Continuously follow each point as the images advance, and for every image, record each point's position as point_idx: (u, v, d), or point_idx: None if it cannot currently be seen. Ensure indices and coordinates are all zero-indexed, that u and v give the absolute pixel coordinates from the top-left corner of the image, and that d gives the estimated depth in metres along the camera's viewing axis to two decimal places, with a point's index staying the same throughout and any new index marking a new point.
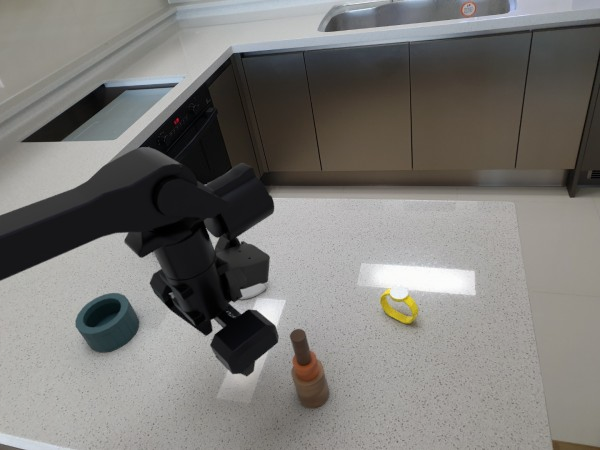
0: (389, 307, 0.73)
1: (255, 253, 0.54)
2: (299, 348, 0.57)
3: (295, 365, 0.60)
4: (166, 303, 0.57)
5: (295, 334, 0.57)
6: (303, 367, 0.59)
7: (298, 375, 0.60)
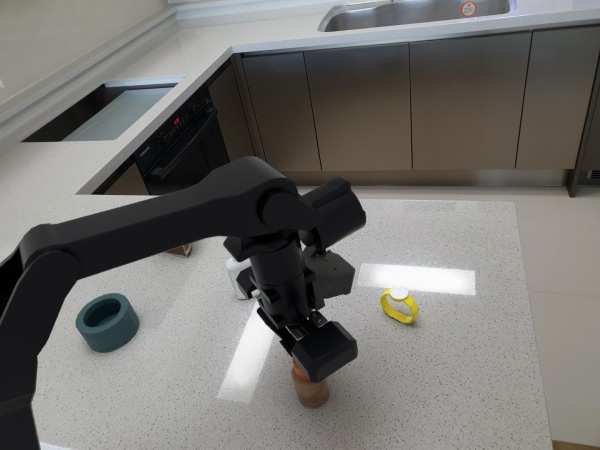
0: (389, 307, 0.73)
1: (341, 264, 0.55)
2: None
3: (295, 365, 0.60)
4: (262, 316, 0.56)
5: None
6: None
7: (298, 375, 0.60)
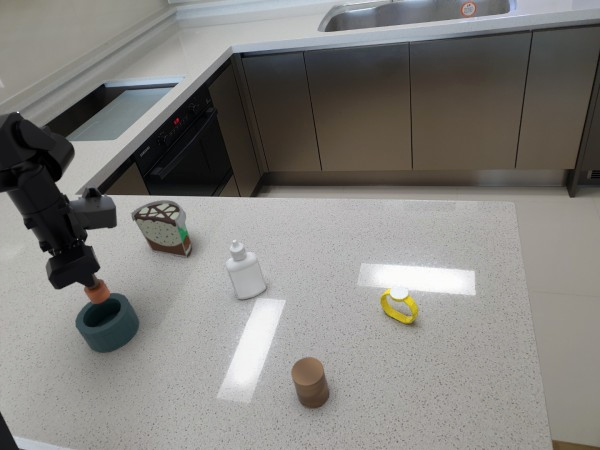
0: (389, 307, 0.73)
1: (106, 203, 0.68)
2: None
3: (85, 290, 0.73)
4: None
5: None
6: (90, 291, 0.72)
7: None
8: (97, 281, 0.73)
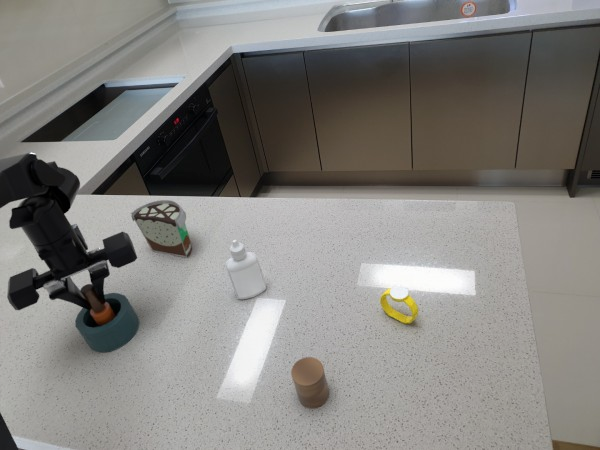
0: (389, 307, 0.73)
1: None
2: (95, 293, 0.75)
3: (100, 313, 0.77)
4: (60, 294, 0.70)
5: (84, 289, 0.75)
6: (106, 308, 0.77)
7: (107, 319, 0.78)
8: None
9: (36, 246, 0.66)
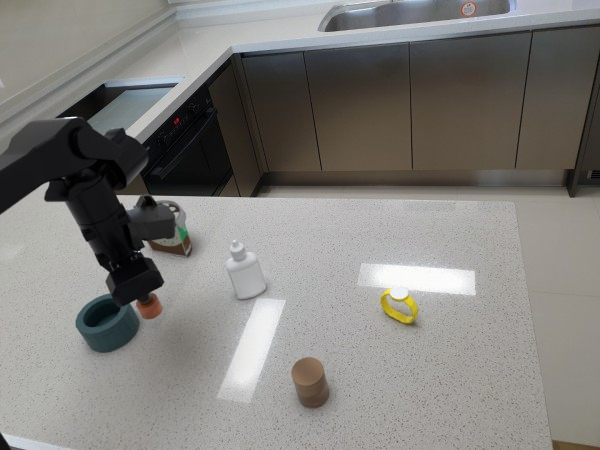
0: (389, 307, 0.73)
1: (164, 212, 0.63)
2: None
3: (137, 305, 0.68)
4: None
5: None
6: (143, 306, 0.67)
7: (141, 314, 0.69)
8: (150, 295, 0.68)
9: None
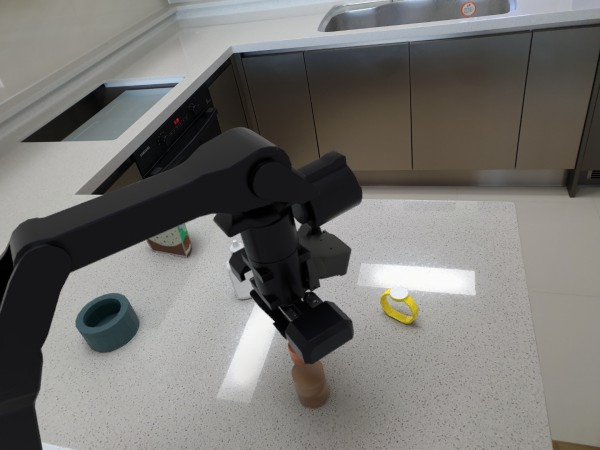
0: (389, 307, 0.73)
1: (336, 244, 0.53)
2: None
3: (290, 349, 0.58)
4: (255, 298, 0.55)
5: None
6: None
7: (294, 359, 0.58)
8: None
9: None
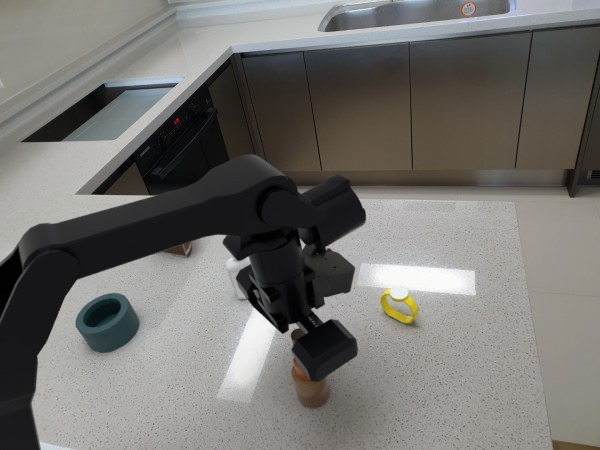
0: (389, 307, 0.73)
1: (341, 262, 0.55)
2: None
3: (296, 364, 0.60)
4: (249, 299, 0.59)
5: (295, 333, 0.57)
6: None
7: (299, 374, 0.60)
8: None
9: None
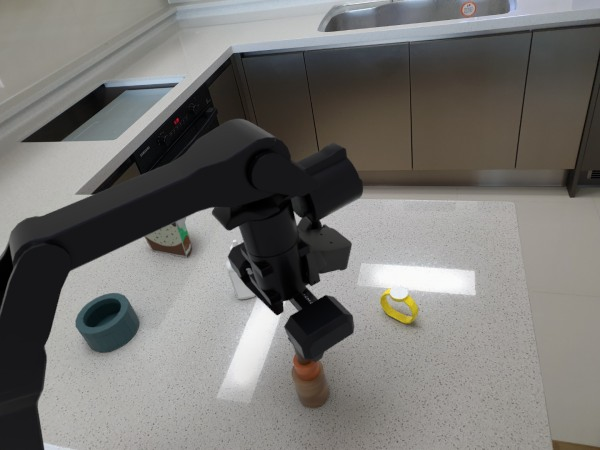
0: (389, 307, 0.73)
1: (337, 238, 0.52)
2: None
3: (296, 364, 0.60)
4: (242, 278, 0.57)
5: None
6: (304, 367, 0.59)
7: (299, 374, 0.60)
8: None
9: None
